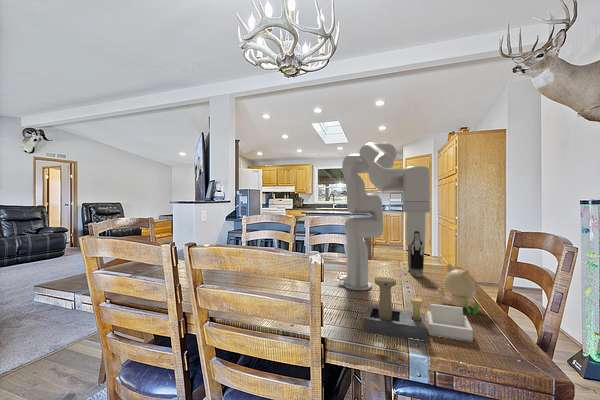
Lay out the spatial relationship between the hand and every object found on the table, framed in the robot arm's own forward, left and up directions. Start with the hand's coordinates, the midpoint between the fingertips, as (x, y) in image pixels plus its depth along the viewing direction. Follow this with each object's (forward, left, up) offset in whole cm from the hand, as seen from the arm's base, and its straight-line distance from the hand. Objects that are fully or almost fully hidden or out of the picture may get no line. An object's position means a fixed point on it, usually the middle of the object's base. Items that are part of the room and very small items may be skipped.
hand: (416, 264), depth 83 cm
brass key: (0, 0, -17) cm, 17 cm away
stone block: (+1, +68, -21) cm, 71 cm away
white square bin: (+9, +4, -20) cm, 23 cm away
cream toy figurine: (+16, +27, -21) cm, 38 cm away
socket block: (-6, 0, -20) cm, 21 cm away
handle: (-9, 0, -21) cm, 22 cm away
